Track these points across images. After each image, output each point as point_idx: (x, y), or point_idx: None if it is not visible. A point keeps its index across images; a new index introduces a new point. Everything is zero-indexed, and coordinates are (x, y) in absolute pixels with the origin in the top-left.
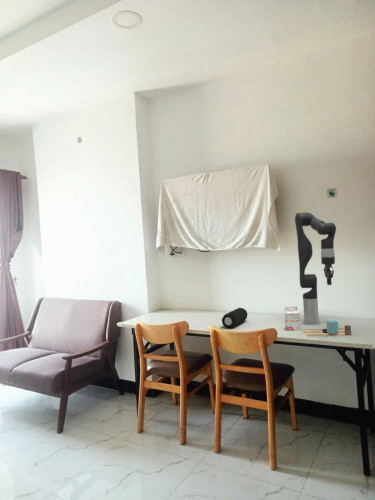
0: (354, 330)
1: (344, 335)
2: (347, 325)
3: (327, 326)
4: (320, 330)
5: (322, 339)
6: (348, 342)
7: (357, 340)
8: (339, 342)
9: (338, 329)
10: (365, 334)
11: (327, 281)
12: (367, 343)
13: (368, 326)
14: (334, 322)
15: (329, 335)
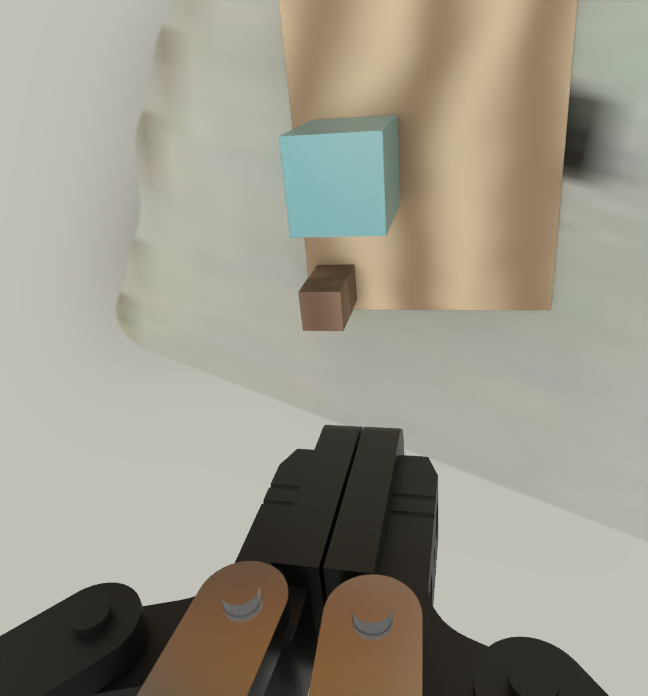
0: (485, 374)
1: (305, 246)
2: (333, 315)
3: (346, 124)
4: (505, 65)
5: (216, 26)
6: (150, 222)
7: (204, 298)
8: (143, 156)
9: (509, 255)
10: (357, 401)
11: (314, 489)
12: (142, 332)
13: (589, 506)
14: (286, 200)
15: (306, 117)
